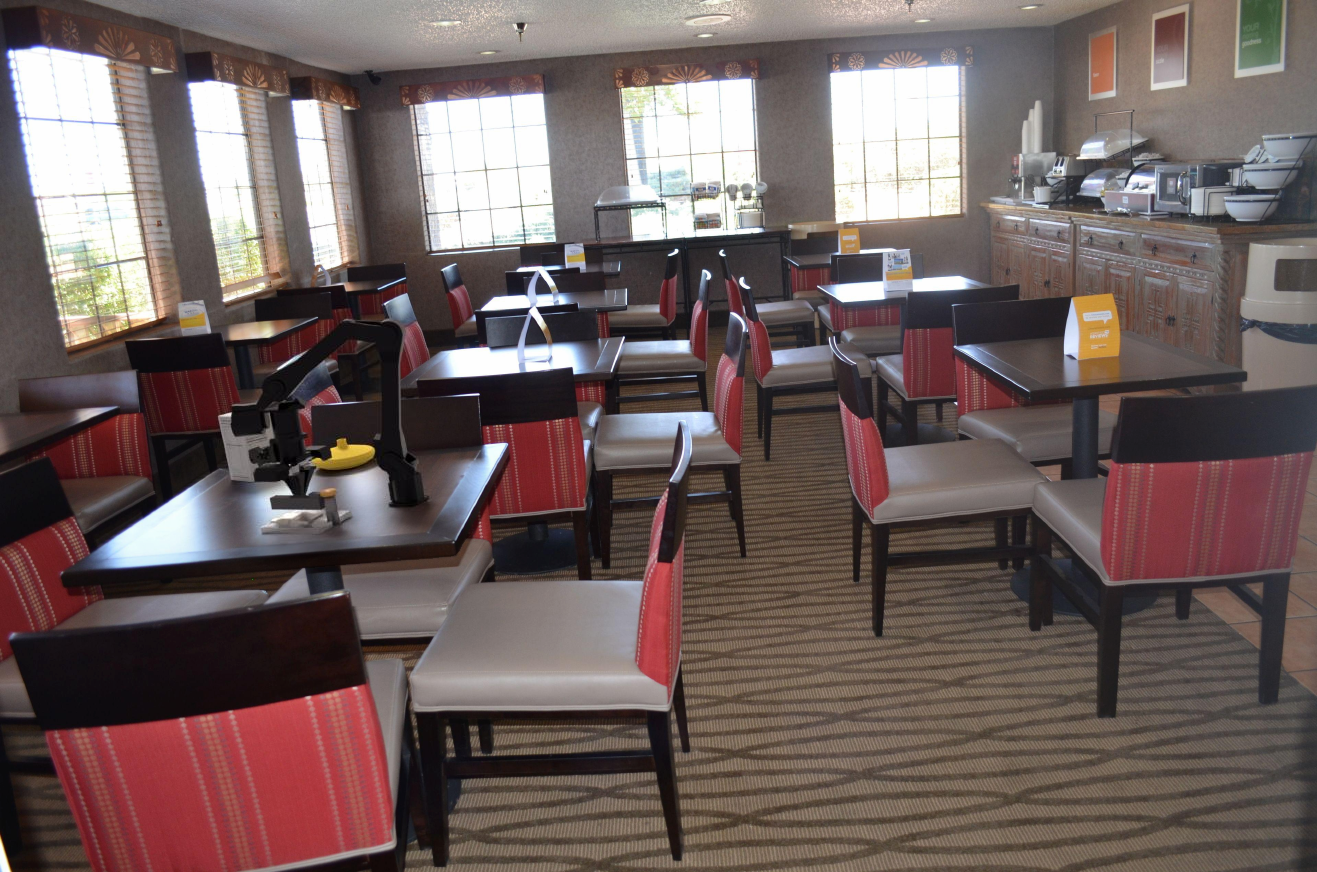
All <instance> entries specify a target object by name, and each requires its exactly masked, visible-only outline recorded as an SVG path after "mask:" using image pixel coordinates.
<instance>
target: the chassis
mask: <svg viewBox="0 0 1317 872" xmlns="http://www.w3.org/2000/svg"><path fill="white" fill-rule="evenodd" d="M323 500H324V506H325V508H324V509H322V510H291V512H288V513H287V512H286V513H283V514H281V515H279V516H277V517H275V518H273V519H272V520H269V522H268V523H266V524H264V525H262V526H260V531H261V534H292V535H293V534H296V535H297V534H302V535H303V534H304V535H305V534H307V535H310V534H311V535H321V534H322V533H324V532H326V531H328V530H330V529H331V528H333V527H337V526H339V525H341V522H343V521H345V520H347V519H349V518H351V517H352V516H353V515H352V510H342V509H340V510H339V509H338V503H337V498H336V494H335V495H333V496H329V497H323Z"/></svg>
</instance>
